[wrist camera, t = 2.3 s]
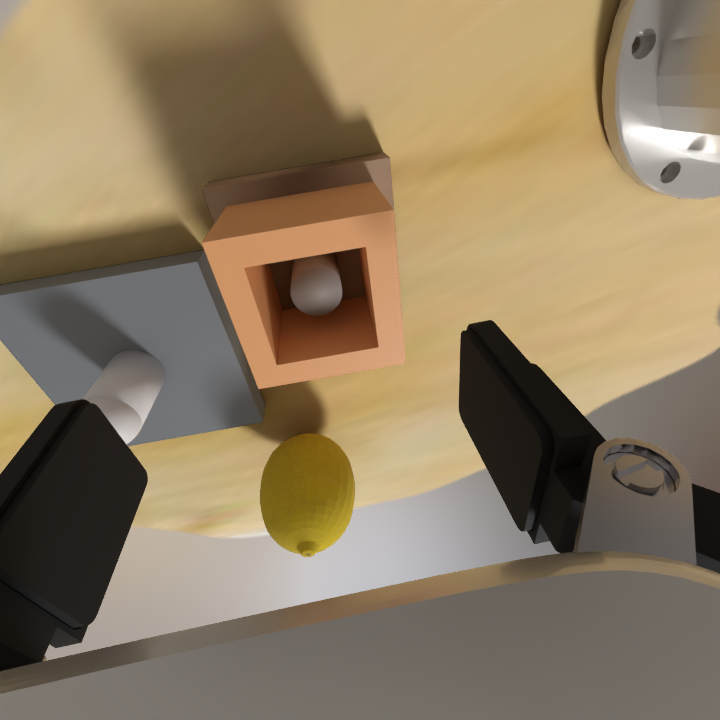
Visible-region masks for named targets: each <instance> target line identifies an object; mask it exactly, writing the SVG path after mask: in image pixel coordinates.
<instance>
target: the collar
mask: <svg viewBox="0 0 720 720" xmlns="http://www.w3.org/2000/svg"><path fill="white" fill-rule="evenodd" d="M202 245H203V248H204V250H205V253H206V256H207V258H208V261H209V263H210V266H211V268H212V271H213V274H214V276H215V279H216V281H217V284H218V286H219V289H220V291H221V294H222V297H223V299H224V302H225V304H226V307H227V309H228V312H229V315H230V317H231V320H232V322H233V325H234V327H235V330H236V332H237V335H238V338H239V340H240V343H241V345H242V348H243V350H244V353H245V356H246V358H247V361H248V363H249V366H250V368H251V371H252V374H253V376H254V379H255V381H256V384H257V386H258V389H263V388H269V387H274V386H280V385H286V384H291V383H297V382H303V381H308V380H314V379H320V378H325V377H331V376H337V375H342V374H348V373H354V372H359V371H365V370H371V369H376V368H382V367H388V366H393V365H399V364H405V363H406V362H405V349H404V336H403V323H402V310H401V297H400V284H399V271H398V258H397V245H396V232H395V219H394V209H393V208H392V207H391V205H390V204H389V202H388V201H387V200H386V198H385V197H384V195H383V194H382V193H381V191H380V190H379V188H378V187H377V186H376V184H375V183H374V182H373V181H372V182H366V183H360V184H354V185H348V186H342V187H336V188H330V189H325V190H319V191H313V192H307V193H301V194H295V195H289V196H283V197H278V198H272V199H266V200H260V201H254V202H248V203H242V204H237V205H231V206H227V207H226V208H225V210H224V211H223V213H222V214H221V215H220V217H219V218H218V220H217V221H216V223H215V224H214V226H213V227H212V228H211V230H210V231H209V233H208V234H207V236H206V237H205V238H204V240H203V241H202ZM356 248H358V253H359V260H360V267H361V275H362V282H363V289H364V296H361V297H356V298H350V299H344V300H341V301H340V303H339V305H338V306H337V307H336V308H335V309H334V310H333V311H331V312H329V313H327V314H324V315H319V316H315V315H309V314H306V313H304V312H302V311H301V310H299V309H298V308H292V309H287V310H283V309H282V305H281V302H280V298H279V295H278V292H277V288H276V285H275V281H274V278H273V274H272V271H271V268H270V264H269V263H275V262H281V261H287V260H293V259H298V258H304V257H310V256H316V255H322V254H327V253H333V252H339V251H345V250H351V249H356Z"/></svg>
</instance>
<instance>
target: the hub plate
mask: <svg viewBox="0 0 720 720" xmlns="http://www.w3.org/2000/svg"><path fill="white" fill-rule="evenodd" d="M0 340H1V341H2V343H3V344H4V345H5V346H6V347H7V348H8V350H9V351H10V352H11V353H12V354H13V356H14V357H15V358H16V359H17V360H18V361H19V363H20V364H21V365H22V366H23V367H24V369H25V370H26V371H27V372H28V373H29V374H30V376H31V377H32V378H33V379H34V380H35V382H36V383H37V384H38V385H39V386H40V387H41V389H42V390H43V391H44V392H45V393H46V395H47V396H48V397H49V398H50V399H51V400H52V402H53V403H54V404H55V405H57V404H59V403H64V402H69V401H75V400H80V399H85V400H87V401H89V402H90V403H94V404H96V405H97V406H98V407H99V408H100V409H101V411H102V412H103V414H104V415H105V416H106V418H107V419H108V420H109V422H110V423H111V424H112V426H113V427H114V428H115V430H116V431H117V432H118V434H119V435H120V436H121V438H122V439H123V440H124V442H125V443H126V445H127V446H132V445H138V444H143V443H149V442H155V441H160V440H166V439H171V438H177V437H183V436H188V435H194V434H200V433H205V432H211V431H216V430H222V429H228V428H233V427H239V426H245V425H250V424H256V423H261V422H263V418H264V411H265V403H264V401H263V398H262V395H261V393H260V390H259V389H258V386H257V384H256V381H255V379H254V376H253V374H252V371H251V368H250V366H249V363H248V361H247V358H246V356H245V353H244V350H243V348H242V345H241V343H240V340H239V338H238V335H237V332H236V330H235V327H234V325H233V322H232V320H231V317H230V315H229V312H228V309H227V307H226V304H225V302H224V299H223V297H222V294H221V291H220V289H219V286H218V284H217V281H216V279H215V276H214V274H213V271H212V268H211V266H210V263H209V261H208V258H207V256H206V253H205V250H201V251H195V252H189V253H183V254H177V255H172V256H166V257H160V258H154V259H148V260H142V261H137V262H131V263H125V264H119V265H113V266H107V267H102V268H96V269H90V270H84V271H78V272H73V273H67V274H61V275H55V276H49V277H43V278H38V279H32V280H26V281H20V282H14V283H8V284H3V285H0Z"/></svg>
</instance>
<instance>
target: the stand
mask: <svg viewBox="0 0 720 720" xmlns="http://www.w3.org/2000/svg"><path fill="white" fill-rule="evenodd" d="M372 181H373V182H374V183H375V184H376V186H377V187H378V188H379V190H380V191H381V193H382V194H383V195H384V197H385V198H386V200H387V201H388V202H389V204H390V205H391V207H392V208H393V209H394V204H393V191H392V178H391V166H390V157H389V156H387V155H386V154H385V153H384V152H383V153H377V154H371V155H365V156H359V157H354V158H348V159H342V160H336V161H330V162H324V163H318V164H312V165H306V166H300V167H294V168H289V169H283V170H277V171H271V172H265V173H259V174H253V175H247V176H241V177H235V178H230V179H224V180H218V181H212V182H209V183H208V184H207V185H206V186H205V187H204V188H202V189H201V190H202V192H203V195H204V198H205V201H206V204H207V206H208V209H209V212H210V215H211V217H212V220H213V223H214V224H215V223H216V221H217V220H218V218H219V217H220V215H221V214H222V213H223V211H224V210H225V208H226V207H227V206H231V205H237V204H242V203H248V202H254V201H260V200H266V199H272V198H278V197H283V196H289V195H295V194H301V193H307V192H313V191H319V190H325V189H330V188H336V187H342V186H348V185H354V184H360V183H366V182H372ZM394 219H395V217H394ZM395 232H396V230H395ZM396 245H397V243H396ZM397 258H398V256H397ZM269 264H270V268H271V271H272V274H273V278H274V281H275V285H276V288H277V292H278V295H279V298H280V302H281V305H282V309H283V310H287V309H292V308H298V309H299V310H301V311H302V312H304V313H306V314H309V315H315V316H319V315H324V314H327V313H329V312H331V311H333V310H334V309H335V308H336V307H337V306H338V305H339V303H340V301H341V300H344V299H350V298H356V297H361V296H364V289H363V282H362V275H361V267H360V260H359V253H358V248H356V249H351V250H345V251H339V252H333V253H327V254H322V255H316V256H310V257H304V258H298V259H293V260H287V261H281V262H275V263H269ZM398 271H399V269H398ZM399 284H400V282H399ZM400 297H401V295H400ZM401 310H402V308H401Z"/></svg>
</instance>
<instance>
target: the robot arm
mask: <svg viewBox="0 0 720 720" xmlns="http://www.w3.org/2000/svg"><path fill="white" fill-rule="evenodd" d="M602 105H603V117H604V127H605V130H606V134H607V137H608V141H609V144H610V148H611V151H612V153H613V154H614V156H615V158H616V159H617V161H618V163H619V164H620V166H621V168H622V169H623V171H624V172H626V173H627V174H628V175H629V176H630V177H631V178H632V179H633V180H634V181H635V182H636V183H637V184H639V185H641V186H643V187H646V188H648V189H650V190H652V191H654V192H656V193H660V194H664V195H668V196H672V197H675V198H679V199H701V200H702V199H708V198H714V197H720V0H621V3H620V5H619V8H618V11H617V13H616V16H615V19H614V23H613V28H612V32H611V36H610V40H609V45H608V49H607V53H606V57H605V65H604V76H603V87H602ZM459 412H460V416H461V419H462V421H463V423H464V425H465V427H466V429H467V431H468V433H469V435H470V437H471V439H472V441H473V442H474V444H475V446H476V448H477V450H478V452H479V454H480V456H481V458H482V460H483V462H484V464H485V466H486V468H487V469H488V471H489V473H490V475H491V477H492V479H493V481H494V483H495V485H496V487H497V489H498V491H499V493H500V494H501V496H502V498H503V500H504V502H505V504H506V506H507V508H508V510H509V512H510V514H511V516H512V518H513V520H514V522H515V523H516V525H517V527H518V528H519V530H520V531H527V532H528V533H529V535H530V537H531V538H532V541H533V543H534V544H537V543H542V542H547V541H551V543H552V545H553V547H554V548H555V550H556V551H557V552H559V553H560V554H553V555H546V556H540V557H532V558H525V559H520V560H515V561H510V562H504V563H499V564H494V565H489V566H484V567H479V568H474V569H468V570H463V571H459V572H453V573H448V574H443V575H438V576H433V577H429V578H424V579H419V580H415V581H410V582H405V583H401V584H396V585H391V586H386V587H382V588H377V589H372V590H368V591H363V592H358V593H353V594H349V595H344V596H340V597H335V598H330V599H325V600H321V601H316V602H311V603H307V604H302V605H298V606H293V607H288V608H284V609H279V610H275V611H270V612H266V613H261V614H257V615H251V616H247V617H242V618H238V619H233V620H229V621H224V622H219V623H215V624H210V625H206V626H201V627H196V628H192V629H188V630H183V631H178V632H174V633H169V634H165V635H160V636H155V637H151V638H146V639H142V640H138V641H133V642H129V643H124V644H120V645H115V646H111V647H106V648H102V649H97V650H93V651H88V652H84V653H80V654H75V655H70V656H66V657H62V658H57V659H53V660H48V661H47V660H46V657H45V652H46V650H47V648H48V646H49V644H50V645H52V646H53V647H55V648H58V647H63V646H68V645H72V644H76V643H81V642H82V639H83V637H84V635H85V632H86V630H87V627H88V625H89V624H91V623H92V622H93V621H94V619H95V618H96V616H97V614H98V611H99V608H100V606H101V603H102V600H103V598H104V595H105V592H106V590H107V587H108V585H109V582H110V580H111V577H112V574H113V572H114V569H115V566H116V564H117V561H118V559H119V556H120V553H121V551H122V548H123V546H124V543H125V540H126V538H127V535H128V532H129V530H130V527H131V525H132V522H133V519H134V517H135V514H136V512H137V509H138V506H139V504H140V501H141V498H142V496H143V493H144V491H145V488H146V485H147V481H148V477H147V472H146V470H145V469H144V467H143V466H142V465H141V463H140V462H139V461H138V459H137V458H136V457H135V455H134V454H133V453H132V451H131V450H130V449H129V447H128V446H127V445H126V443H125V442H124V440H123V439H122V438H121V436H120V435H119V434H118V432H117V431H116V430H115V428H114V427H113V426H112V424H111V423H110V422H109V420H108V419H107V418H106V416H105V415H104V414H103V412H102V411H101V409H100V408H99V407H98V406H97V405H96V404H94V403H90V402H89V401H87V400H85V399H80V400H75V401H69V402H64V403H59V404H57V405H55V406H54V407H53V408H52V409H51V410H50V411H49V413H48V414H47V415H46V416H45V418H44V419H43V420H42V422H41V423H40V424H39V425H38V427H37V428H36V429H35V431H34V432H33V433H32V434H31V436H30V437H29V438H28V440H27V441H26V442H25V443H24V445H23V446H22V447H21V448H20V450H19V451H18V452H17V454H16V455H15V456H14V457H13V459H12V460H11V461H10V463H9V464H8V465H7V466H6V468H5V469H4V470H3V472H2V473H1V474H0V720H720V493H718V492H715V491H712V490H709V489H706V488H703V487H700V486H697V485H695V484H692V483H691V479H690V476H689V473H688V472H687V470H686V469H685V468H684V466H683V465H682V464H681V462H679V461H678V460H677V459H676V458H675V457H674V456H672V455H671V454H670V453H668V452H666V451H665V450H663V449H661V448H659V447H658V446H656V445H653V444H650V443H647V442H645V441H642V440H635V439H630V438H615V439H612V440H608V441H606V440H605V439H604V438H603V437H602V436H601V434H600V433H599V432H598V431H597V430H596V429H595V428H594V427H593V426H592V425H591V423H590V422H589V421H588V420H587V419H586V418H585V417H584V416H583V415H582V414H581V412H580V411H579V410H578V409H577V408H576V407H575V406H574V405H573V404H572V402H571V401H570V400H569V399H568V398H567V397H566V396H565V395H564V394H563V393H562V391H561V390H560V389H559V388H558V387H557V386H556V385H555V384H554V383H553V382H552V380H551V379H550V378H549V377H548V376H547V375H546V374H545V373H544V372H543V371H542V369H541V368H540V367H538V366H537V365H536V364H533V363H530V362H529V361H528V360H527V359H526V358H525V356H524V355H523V354H522V353H521V352H520V351H519V350H518V349H517V347H516V346H515V345H514V344H513V343H512V342H511V341H510V340H509V338H508V337H507V336H506V335H505V334H504V333H503V332H502V331H501V329H500V328H499V327H498V326H497V325H496V324H495V323H494V322H493V321H492V320H488V321H483V322H478V323H473V324H469V325H468V327H467V330H466V331H462V333H461V345H460V382H459Z"/></svg>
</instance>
